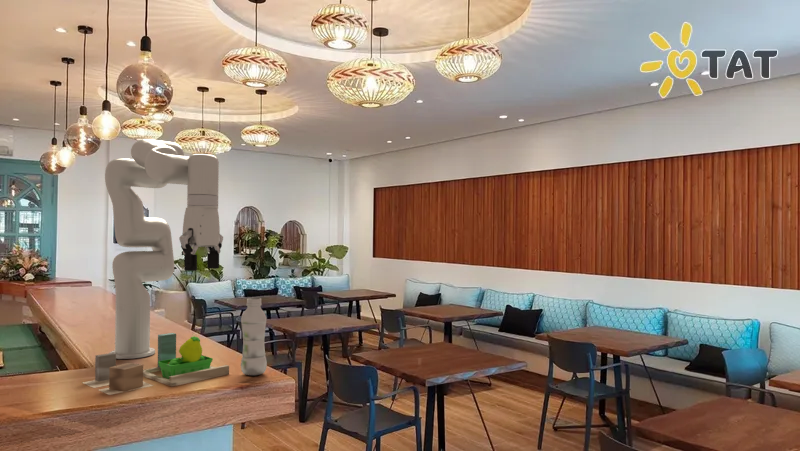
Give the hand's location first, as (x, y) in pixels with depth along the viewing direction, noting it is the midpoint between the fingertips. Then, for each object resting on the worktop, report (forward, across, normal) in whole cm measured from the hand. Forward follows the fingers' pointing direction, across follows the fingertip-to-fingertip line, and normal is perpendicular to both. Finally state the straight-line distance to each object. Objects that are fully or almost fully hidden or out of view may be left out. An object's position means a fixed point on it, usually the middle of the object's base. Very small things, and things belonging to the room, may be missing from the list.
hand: (202, 269), depth 140 cm
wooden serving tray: (+28, +1, -5) cm, 28 cm away
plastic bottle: (+28, -7, +11) cm, 31 cm away
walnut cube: (+27, +15, -9) cm, 32 cm away
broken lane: (+28, +13, -14) cm, 34 cm away
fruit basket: (+28, +2, -3) cm, 28 cm away
